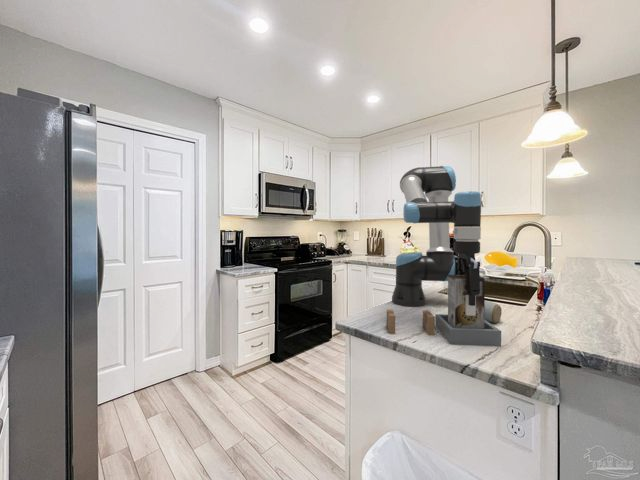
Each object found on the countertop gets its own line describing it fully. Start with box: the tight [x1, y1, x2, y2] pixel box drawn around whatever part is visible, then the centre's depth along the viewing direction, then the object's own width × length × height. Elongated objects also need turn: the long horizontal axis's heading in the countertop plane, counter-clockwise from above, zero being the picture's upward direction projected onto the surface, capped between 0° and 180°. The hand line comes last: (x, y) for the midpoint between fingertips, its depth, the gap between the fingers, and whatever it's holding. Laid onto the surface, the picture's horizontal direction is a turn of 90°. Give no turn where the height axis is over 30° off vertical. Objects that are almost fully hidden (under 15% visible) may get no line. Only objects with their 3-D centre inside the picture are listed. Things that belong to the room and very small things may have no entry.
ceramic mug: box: [484, 300, 502, 324], centre depth 103 cm, size 11×8×8 cm
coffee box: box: [447, 275, 486, 329], centre depth 87 cm, size 9×6×16 cm
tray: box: [434, 313, 502, 347], centre depth 88 cm, size 14×14×4 cm
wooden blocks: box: [385, 308, 435, 336], centre depth 93 cm, size 7×14×6 cm, turn 83°
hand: (465, 311), depth 88 cm, fingers closed on coffee box, 6 cm apart
